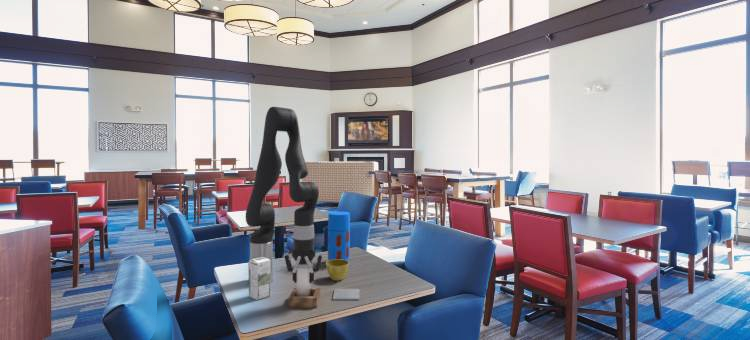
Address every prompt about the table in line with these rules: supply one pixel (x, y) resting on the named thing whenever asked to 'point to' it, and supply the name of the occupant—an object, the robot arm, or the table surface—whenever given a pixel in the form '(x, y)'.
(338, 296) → the coaster
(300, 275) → the white lidded jar
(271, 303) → the table surface
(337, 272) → the flower pot
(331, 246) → the thermos
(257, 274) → the syrup box
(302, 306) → the wooden tray
